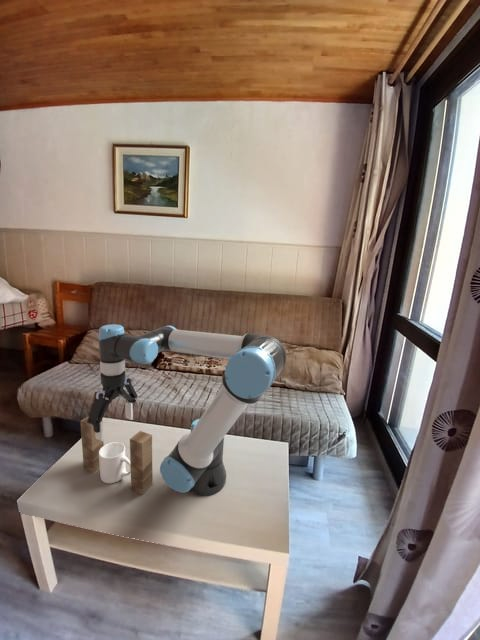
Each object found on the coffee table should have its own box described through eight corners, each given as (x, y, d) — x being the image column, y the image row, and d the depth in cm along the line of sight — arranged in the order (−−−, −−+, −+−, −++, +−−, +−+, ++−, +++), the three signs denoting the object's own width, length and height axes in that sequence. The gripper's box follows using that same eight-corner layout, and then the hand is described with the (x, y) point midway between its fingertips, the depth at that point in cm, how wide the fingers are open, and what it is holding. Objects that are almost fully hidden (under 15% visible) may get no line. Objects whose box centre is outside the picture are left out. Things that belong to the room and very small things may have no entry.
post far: (104, 464, 116) (102, 417, 111) (94, 473, 112) (90, 424, 107) (94, 460, 118) (91, 414, 113) (83, 468, 113) (80, 420, 108)
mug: (123, 489, 105) (122, 463, 103) (94, 480, 108) (93, 454, 106) (138, 472, 113) (138, 447, 111) (111, 464, 116) (110, 439, 114)
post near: (152, 484, 108) (152, 434, 103) (143, 494, 104) (142, 443, 99) (140, 479, 110) (140, 430, 105) (131, 489, 105) (129, 438, 101)
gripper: (130, 357, 113) (131, 408, 118) (71, 383, 91) (76, 445, 96) (147, 361, 111) (147, 413, 116) (90, 389, 88) (94, 453, 93)
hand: (115, 428), depth 106 cm, fingers open, 13 cm apart
